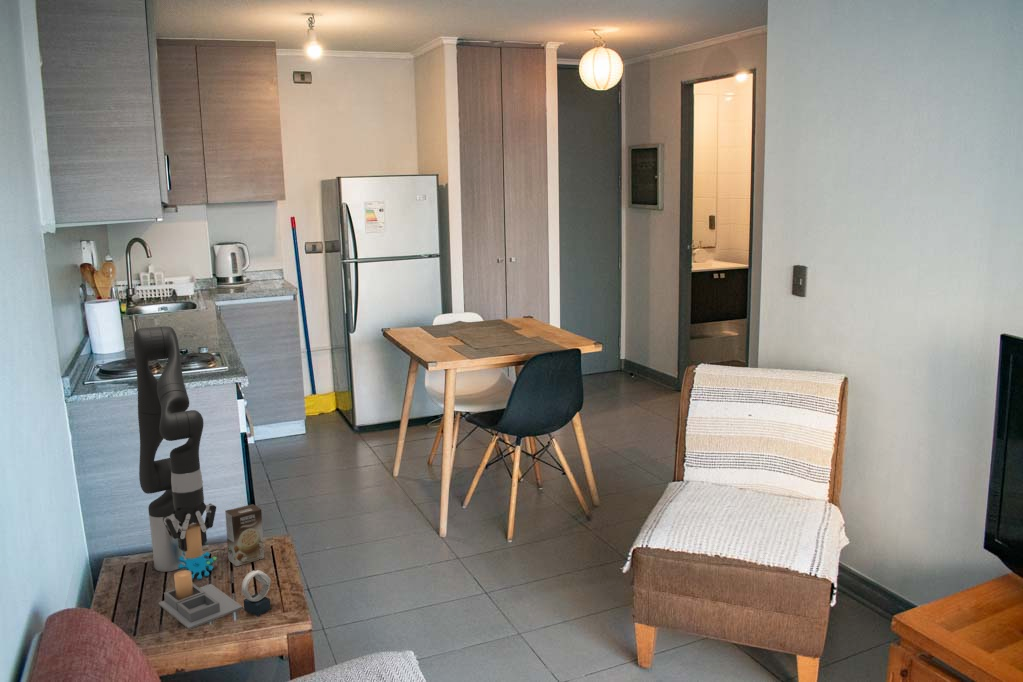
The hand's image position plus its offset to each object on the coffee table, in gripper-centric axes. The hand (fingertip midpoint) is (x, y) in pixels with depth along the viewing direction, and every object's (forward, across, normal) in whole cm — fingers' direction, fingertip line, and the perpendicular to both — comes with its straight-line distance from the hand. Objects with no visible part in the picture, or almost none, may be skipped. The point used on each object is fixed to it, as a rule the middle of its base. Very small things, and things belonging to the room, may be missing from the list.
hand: (193, 547), depth 221 cm
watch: (+19, -12, +10) cm, 25 cm away
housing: (+19, -2, -4) cm, 19 cm away
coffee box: (+19, -25, -22) cm, 38 cm away
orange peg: (+2, 0, 0) cm, 2 cm away
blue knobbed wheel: (+19, -10, -22) cm, 31 cm away
